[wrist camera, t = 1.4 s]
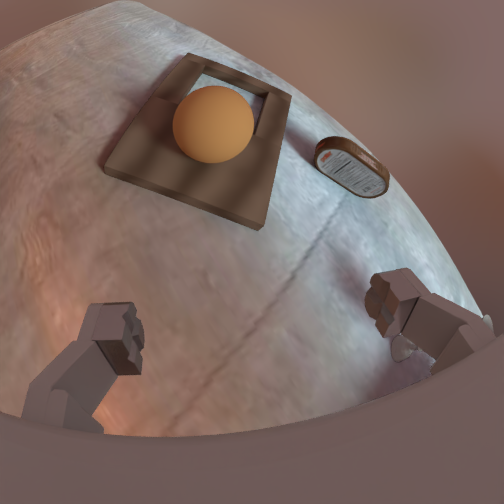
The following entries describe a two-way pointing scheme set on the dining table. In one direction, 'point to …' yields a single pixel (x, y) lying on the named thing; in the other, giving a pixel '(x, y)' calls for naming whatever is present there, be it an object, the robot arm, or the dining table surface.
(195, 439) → the robot arm
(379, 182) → the tin
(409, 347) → the chalice
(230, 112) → the ball
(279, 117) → the board
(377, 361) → the dining table surface
